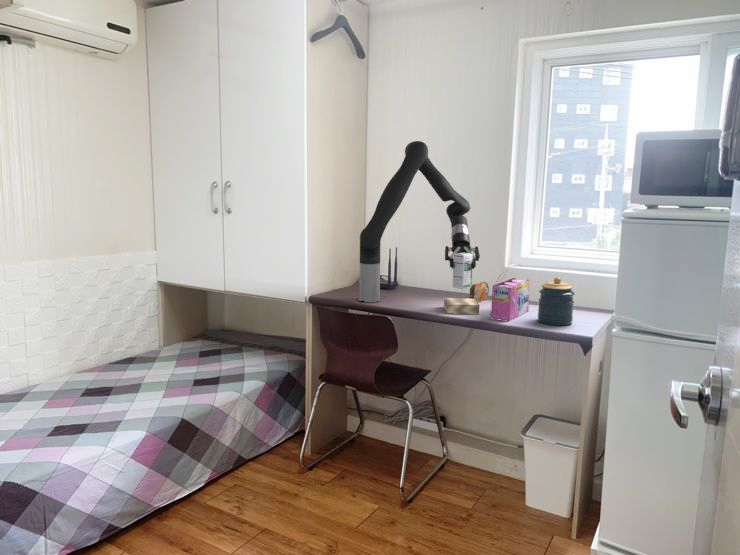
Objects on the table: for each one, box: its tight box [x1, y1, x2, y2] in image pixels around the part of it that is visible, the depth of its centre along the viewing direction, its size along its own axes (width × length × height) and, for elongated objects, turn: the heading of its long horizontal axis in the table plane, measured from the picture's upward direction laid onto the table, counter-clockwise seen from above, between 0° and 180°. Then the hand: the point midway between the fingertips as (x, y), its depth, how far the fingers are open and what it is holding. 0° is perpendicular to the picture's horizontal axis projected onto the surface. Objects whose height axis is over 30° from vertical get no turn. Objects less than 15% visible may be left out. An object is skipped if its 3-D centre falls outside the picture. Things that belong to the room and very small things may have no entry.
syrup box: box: [452, 253, 474, 290], centre depth 230 cm, size 6×6×14 cm
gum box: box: [490, 277, 530, 322], centre depth 226 cm, size 24×8×14 cm, turn 146°
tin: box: [469, 281, 490, 303], centre depth 254 cm, size 15×3×8 cm, turn 143°
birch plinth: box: [443, 297, 480, 315], centre depth 233 cm, size 13×13×4 cm
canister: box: [537, 276, 575, 326], centre depth 214 cm, size 13×13×18 cm
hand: (463, 267), depth 229 cm, fingers closed on syrup box, 8 cm apart
